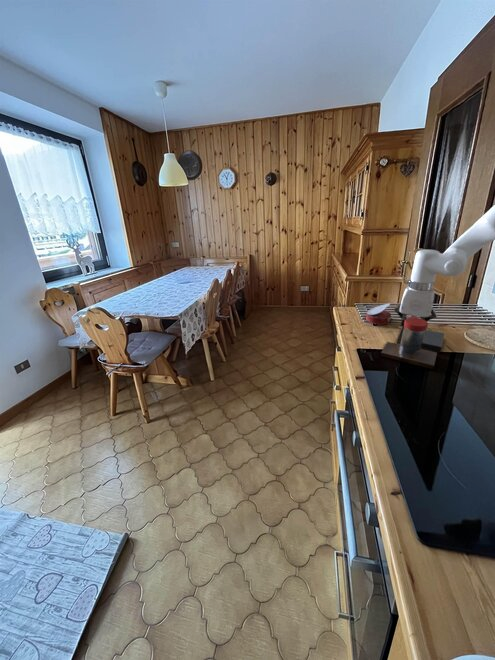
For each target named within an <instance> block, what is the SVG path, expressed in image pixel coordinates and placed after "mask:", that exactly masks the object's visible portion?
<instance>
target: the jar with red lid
mask: <svg viewBox="0 0 495 660" xmlns="http://www.w3.org/2000/svg"><path fill="white" fill-rule="evenodd" d="M406 318H407V319H405V323H404V329H403V334H402V338H401V343H400V348H399V353H400V354H402V355H404V356H406V357H412V358H413V357H418V356H419V355H420V351H421V347H422V343H423V339H424V335H425V332H426V330H428V326H429V323H428V321H425V320H423V319H421V317H417V318H411V317H406Z"/></svg>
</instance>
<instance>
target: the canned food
mask: <svg viewBox="0 0 495 660" xmlns="http://www.w3.org/2000/svg"><path fill="white" fill-rule="evenodd" d="M390 305H391V303H390V302H389V303H385V304H380V305H377V306H374V307H372V308H370V309H369V310H367V311H366V317H365V321H367V322H369V323H371V324H374V325H387V324H390V322H391V318H392V313H391V312H389V311H387V310H385V309H387V308H388V307H390Z"/></svg>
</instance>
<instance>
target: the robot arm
mask: <svg viewBox="0 0 495 660" xmlns="http://www.w3.org/2000/svg"><path fill="white" fill-rule="evenodd" d="M493 241H495V204H494V205H493V206H492V207H490V209H489V210H487V211H486V212H485V213H484V214H483V215H482V216H481V217H479V219H478V220H476V222H474V223H473V225H471V226H470V227H469V228H468V229H467V230H466V231H464V233H463V234H461V235H460V236H459V237H458V238H457V239H456V240H455V241H454V242H453V243H452V244H451V245H450V246H449V247H448V248H447V249H446V250H445V251H444V252H443V253H441V252H440V251H439V250H437V249H436V250H435V249H419V250H418V251H417V252H416V253H415V256H414V260H413V265H412V271H411V275H410V279H408V280H407V279H406V280H405V281H404V284H405V285H407V286H406V288H405V289H404V292H403V295H402V298H401V302H400V303H399V304H398V305H396V307H394V308H393V311H394V312H395V313H396V314H397V315H398V316H399V317H400V318H401V323H400V327H402V328H401V330H402V329H404V323H405V319H407V318H408V317H407V316H412V315H413V316H417V317H418V318H420V319H423V320H425V321H427V322H428V321H430V320H433V319H436V318H437V317H438V314H437V312H436V311H435V309H434V307H433V305H434V301H435V289H434V284H435V282H436V281H435V280H436V276H437V275H441V276H444V277H445V276H446V277H456V276H459V275H461V274H463V273H464V272H465V271H466V269H467V266H468V261H469V260H470V259H471V258H472V257H473V256H474V255H475V254H476V253H478V252H479V251H480V250H481V249H482V248H484V247H485V246H487V245H488V244H489V243H491V242H493Z"/></svg>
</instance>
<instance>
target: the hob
mask: <svg viewBox="0 0 495 660" xmlns="http://www.w3.org/2000/svg"><path fill="white" fill-rule="evenodd" d="M398 328H399V329H401V330H400V332H399V334H398V337H397V341H396V344H400V343H401V338H402V334H403V329H402V326H398ZM444 339H445V332H443V331H442V332H441V331H436V330H433V329H426V332H425V335H424V339H423V343H422V347H421V349H422V350H427V351H431V352H436V353H437V354H441V351H442V348H443V343H444Z"/></svg>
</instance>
